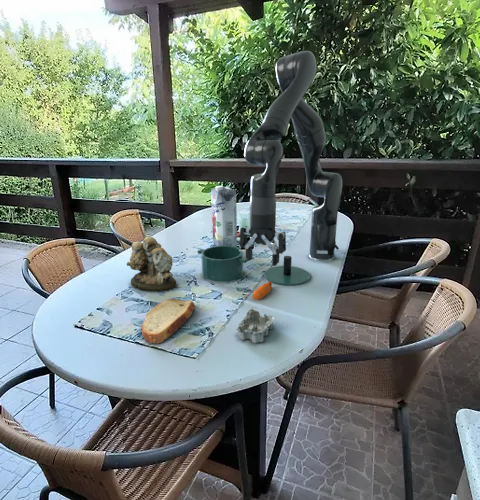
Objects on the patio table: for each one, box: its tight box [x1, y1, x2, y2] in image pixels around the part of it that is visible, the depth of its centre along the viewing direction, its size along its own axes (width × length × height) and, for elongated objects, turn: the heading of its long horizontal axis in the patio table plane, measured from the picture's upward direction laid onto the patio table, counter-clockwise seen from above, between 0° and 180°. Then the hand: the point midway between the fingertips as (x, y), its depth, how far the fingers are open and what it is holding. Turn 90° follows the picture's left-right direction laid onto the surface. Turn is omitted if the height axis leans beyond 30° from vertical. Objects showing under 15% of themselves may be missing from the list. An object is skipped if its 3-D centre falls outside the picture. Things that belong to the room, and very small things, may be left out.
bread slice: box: [141, 298, 196, 345], centre depth 103 cm, size 18×18×4 cm
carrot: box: [252, 281, 273, 301], centre depth 116 cm, size 11×3×3 cm, turn 145°
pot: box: [197, 245, 249, 283], centre depth 131 cm, size 15×20×8 cm
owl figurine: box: [126, 235, 177, 293], centre depth 125 cm, size 18×12×17 cm, turn 69°
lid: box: [264, 255, 311, 287], centre depth 127 cm, size 16×16×8 cm
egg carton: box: [235, 307, 275, 344], centre depth 96 cm, size 11×8×4 cm
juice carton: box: [210, 185, 238, 247], centre depth 155 cm, size 9×10×27 cm
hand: (261, 262), depth 112 cm, fingers open, 8 cm apart
